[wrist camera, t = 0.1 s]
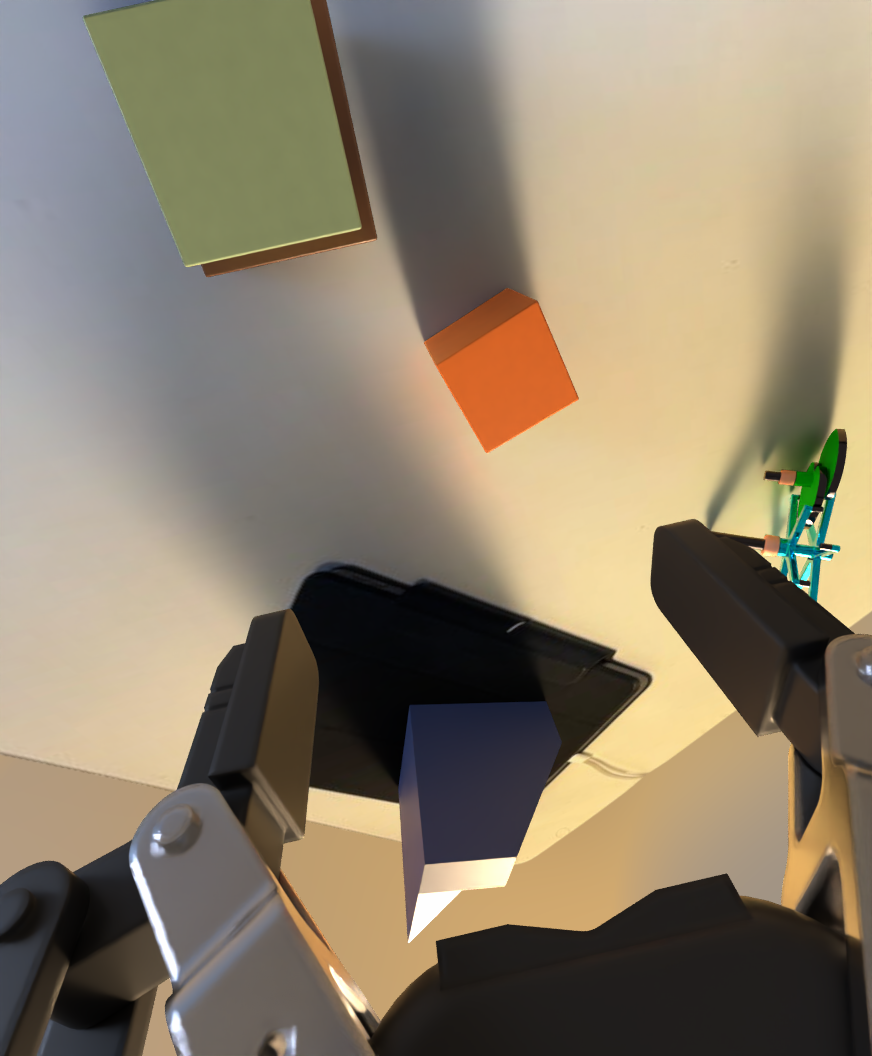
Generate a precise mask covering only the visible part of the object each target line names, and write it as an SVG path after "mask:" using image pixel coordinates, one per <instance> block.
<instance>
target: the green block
mask: <svg viewBox="0 0 872 1056" xmlns="http://www.w3.org/2000/svg"><path fill="white" fill-rule="evenodd" d="M83 21H84V24H85V26H86V28H87V31H88V33H89V36H90V38H91V41H92V43H93V45H94V48H95V50H96V53H97V55H98V57H99V60H100V62H101V65H102V67H103V70H104V72H105V74H106V77H107V79H108V82H109V84H110V87H111V89H112V91H113V94H114V96H115V99H116V101H117V103H118V106H119V108H120V111H121V113H122V116H123V118H124V120H125V123H126V125H127V128H128V130H129V133H130V135H131V137H132V140H133V142H134V145H135V147H136V149H137V152H138V154H139V157H140V159H141V162H142V164H143V166H144V169H145V171H146V174H147V176H148V179H149V181H150V183H151V186H152V188H153V191H154V193H155V195H156V198H157V200H158V203H159V205H160V208H161V210H162V212H163V215H164V217H165V220H166V222H167V225H168V227H169V229H170V232H171V234H172V237H173V239H174V241H175V244H176V246H177V249H178V251H179V254H180V256H181V258H182V261H183V263H184V265H185V266H186V267H191V266H195V265H200V264H205V263H209V262H214V261H218V260H223V259H227V258H232V257H236V256H241V255H246V254H250V253H255V252H259V251H264V250H268V249H273V248H278V247H282V246H287V245H291V244H296V243H300V242H305V241H309V240H314V239H319V238H323V237H328V236H332V235H337V234H341V233H346V232H350V231H355V230H360V229H361V227H362V225H361V221H360V217H359V212H358V208H357V203H356V199H355V195H354V190H353V186H352V181H351V177H350V172H349V168H348V164H347V159H346V155H345V150H344V146H343V142H342V137H341V133H340V128H339V124H338V120H337V115H336V111H335V106H334V102H333V98H332V93H331V89H330V84H329V80H328V76H327V71H326V67H325V62H324V58H323V54H322V49H321V45H320V40H319V36H318V32H317V27H316V23H315V18H314V14H313V10H312V6H311V1H310V0H154V1H150V2H145V3H140V4H136V5H131V6H126V7H122V8H117V9H112V10H108V11H103V12H98V13H94V14H89V15H84V16H83Z"/></svg>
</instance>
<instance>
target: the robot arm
mask: <svg viewBox="0 0 872 1056" xmlns="http://www.w3.org/2000/svg"><path fill="white" fill-rule="evenodd" d="M651 590H652V594H653V597H654V600H655V602H656V604H657V606H658V608H659V609H660V611H661V612H662V613H663V615H664V616H665V617H666V618H667V620H668V621H669V622H670V624H671V625H672V626H673V628H674V629H675V630H676V631H677V633H678V634H679V635H680V637H681V638H682V639H683V641H684V642H685V643H686V644H687V646H688V647H689V648H690V650H691V651H692V652H693V654H694V655H695V656H696V657H697V659H698V660H699V661H700V663H701V664H702V665H703V667H704V668H705V669H706V670H707V672H708V673H709V674H710V676H711V677H712V678H713V680H714V681H715V682H716V683H717V685H718V686H719V687H720V689H721V690H722V691H723V693H724V694H725V695H726V696H727V698H728V699H729V700H730V702H731V703H732V704H733V706H734V707H735V708H736V709H737V711H738V712H739V713H740V715H741V716H742V717H743V719H744V720H745V721H746V722H747V724H748V725H749V726H750V728H751V729H752V730H753V731H754V733H755V734H756V735H757V737H759V736H764V735H768V734H772V733H777V732H781V731H782V732H783V733H784V735H785V736H786V737H787V738H788V739H789V740H790V742H791V745H790V748H789V753H788V857H787V865H786V870H785V875H784V880H783V887H782V896H781V905H779V904H775V903H773V902H769V901H766V900H762V899H757V898H752V897H747V896H739V894H738V892H737V890H736V889H735V887H734V885H733V883H732V881H731V880H730V878H729V876H728V874H722V875H718V876H714V877H710V878H706V879H701V880H697V881H692V882H688V883H684V884H680V885H675V886H671V887H667V888H662V889H658V890H655V891H654V892H652V893H650V894H649V895H647V896H646V897H644V898H642V899H641V900H639V901H638V902H636V903H635V904H633V905H632V906H630V907H628V908H627V909H625V910H624V911H622V912H621V913H619V914H618V915H616V916H614V917H613V918H611V919H610V920H608V921H606V922H605V923H603V924H602V925H601V926H599V927H597V928H595V929H593V930H590V931H572V930H562V929H551V928H540V927H530V926H520V925H509V924H507V925H503V926H498V927H494V928H490V929H486V930H482V931H477V932H473V933H468V934H464V935H460V936H455V937H451V938H447V939H442V940H439V941H436V947H437V957H438V963H437V964H436V965H434V966H433V967H431V968H429V969H428V970H426V971H425V972H424V973H423V974H422V975H421V976H419V977H418V978H417V979H416V980H415V981H414V982H413V983H411V984H410V985H409V986H408V987H407V988H406V990H405V991H404V992H403V993H402V994H401V995H400V996H399V997H398V998H397V999H396V1001H395V1002H394V1004H393V1005H392V1006H391V1008H390V1009H389V1010H388V1012H387V1013H386V1014H385V1016H384V1017H383V1019H382V1020H381V1021H380V1019H379V1018H378V1016H377V1015H376V1013H375V1011H374V1010H373V1008H372V1007H371V1005H370V1004H369V1002H368V1001H367V1000H366V998H365V996H364V995H363V993H362V992H361V990H360V989H359V987H358V986H357V984H356V983H355V981H354V980H353V979H352V977H351V976H350V974H349V973H348V972H347V970H346V969H345V967H344V966H343V965H342V963H341V962H340V960H339V959H338V957H337V956H336V954H335V953H334V951H333V949H332V948H331V947H330V945H329V943H328V942H327V940H326V939H325V937H324V935H323V934H322V932H321V931H320V929H319V928H318V926H317V924H316V923H315V921H314V920H313V918H312V916H311V915H310V914H309V912H308V910H307V909H306V907H305V905H304V904H303V902H302V901H301V899H300V898H299V896H298V894H297V893H296V891H295V890H294V888H293V887H292V885H291V883H290V882H289V880H288V879H287V877H286V876H285V874H284V873H283V871H282V870H281V868H280V866H281V858H282V850H283V844H284V843H288V842H292V841H297V840H301V839H304V833H305V823H306V812H307V802H308V792H309V781H310V771H311V761H312V750H313V740H314V730H315V719H316V709H317V699H318V689H319V675H318V668H317V663H316V660H315V657H314V655H313V652H312V650H311V648H310V646H309V644H308V642H307V640H306V637H305V635H304V633H303V631H302V629H301V627H300V624H299V622H298V620H297V618H296V616H295V614H294V612H293V611H292V610H291V609H286V610H282V611H277V612H273V613H268V614H264V615H259V616H256V617H254V618H253V619H252V622H251V625H250V628H249V632H248V635H247V639H246V643H245V644H240V645H236V646H233V647H232V649H231V650H230V651H229V653H228V654H227V655H226V657H225V658H224V659H223V661H222V662H221V663H220V665H219V666H218V667H217V670H216V673H215V676H214V679H213V682H212V685H211V688H210V690H211V693H210V694H208V697H207V700H206V704H205V707H204V709H205V712H203V713H202V716H201V719H200V722H199V725H198V728H197V731H196V734H195V737H194V740H193V743H192V746H191V749H190V752H189V755H188V758H187V761H186V764H185V767H184V770H183V773H182V776H181V779H180V782H179V785H178V788H177V790H176V791H174V792H172V793H171V794H169V795H168V796H167V797H165V798H164V799H162V801H160V802H159V803H158V804H157V805H156V806H155V807H154V808H153V809H152V810H151V811H150V812H149V813H148V814H147V816H146V817H145V818H144V819H143V821H142V822H141V824H140V826H139V827H138V829H137V831H136V833H135V835H134V837H133V839H132V840H131V841H129V842H128V843H126V844H124V845H122V846H121V847H119V848H117V849H115V850H113V851H112V852H109V853H108V854H106V855H104V856H102V857H101V858H98V859H97V860H95V861H93V862H91V863H89V864H87V865H86V866H84V867H82V868H80V869H78V870H76V871H75V872H72V871H70V870H69V869H68V868H66V867H65V866H64V865H62V864H61V863H59V862H55V861H43V862H39V863H36V864H33V865H31V866H28V867H26V868H25V869H22V870H20V871H19V872H17V873H16V874H14V875H13V876H11V877H10V878H9V879H7V880H6V881H5V882H3V883H2V884H1V885H0V1056H142V1053H143V1049H144V1044H145V1040H146V1035H147V1031H148V1027H149V1022H150V1018H151V1014H152V1009H153V1005H154V1001H155V996H156V991H157V987H158V985H159V984H161V983H162V982H164V981H165V980H167V979H169V978H170V979H171V982H172V988H173V994H172V995H171V996H170V997H169V998H168V999H167V1001H166V1004H165V1014H166V1021H167V1025H168V1029H169V1032H170V1036H171V1039H172V1042H173V1045H174V1048H175V1051H176V1054H177V1056H872V635H868V634H855V633H853V632H852V631H851V630H850V629H849V628H847V627H846V626H845V625H844V624H843V623H841V622H840V621H839V620H838V619H837V618H835V617H834V616H833V615H832V614H831V613H829V612H828V611H827V610H826V609H825V608H823V607H822V606H821V605H820V604H819V603H817V602H816V601H815V600H814V599H813V598H811V597H810V596H809V595H808V594H807V593H805V592H804V591H803V590H802V589H801V588H799V587H798V586H797V585H796V584H795V583H793V582H792V581H788V580H787V577H786V576H785V575H784V574H783V573H781V572H780V571H779V570H778V569H777V568H775V567H773V568H772V567H771V563H769V562H768V561H767V560H766V559H765V558H763V557H762V556H761V555H760V554H759V553H757V552H756V551H755V550H754V549H753V548H751V547H749V546H746V545H744V544H742V543H740V542H738V541H735V540H733V539H731V538H729V537H726V536H724V537H720V538H718V537H717V536H716V535H714V534H713V533H712V532H711V531H710V530H709V529H708V528H706V527H705V526H704V525H703V524H702V523H701V522H699V521H698V520H696V519H691V520H686V521H682V522H677V523H673V524H668V525H664V526H660V527H658V528H657V529H656V530H655V533H654V542H653V555H652V568H651Z"/></svg>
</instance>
